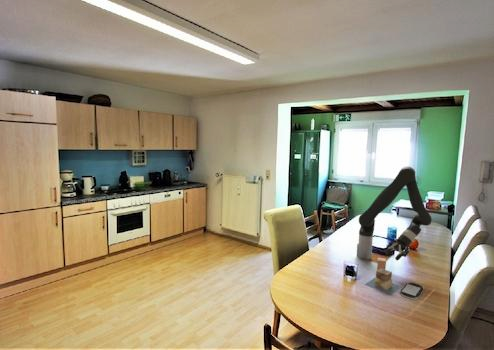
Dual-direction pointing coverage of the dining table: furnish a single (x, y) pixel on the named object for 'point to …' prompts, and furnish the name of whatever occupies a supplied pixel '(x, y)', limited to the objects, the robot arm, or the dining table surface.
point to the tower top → (383, 274)
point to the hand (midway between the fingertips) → (390, 256)
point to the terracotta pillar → (381, 263)
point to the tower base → (383, 283)
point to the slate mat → (388, 291)
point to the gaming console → (411, 291)
